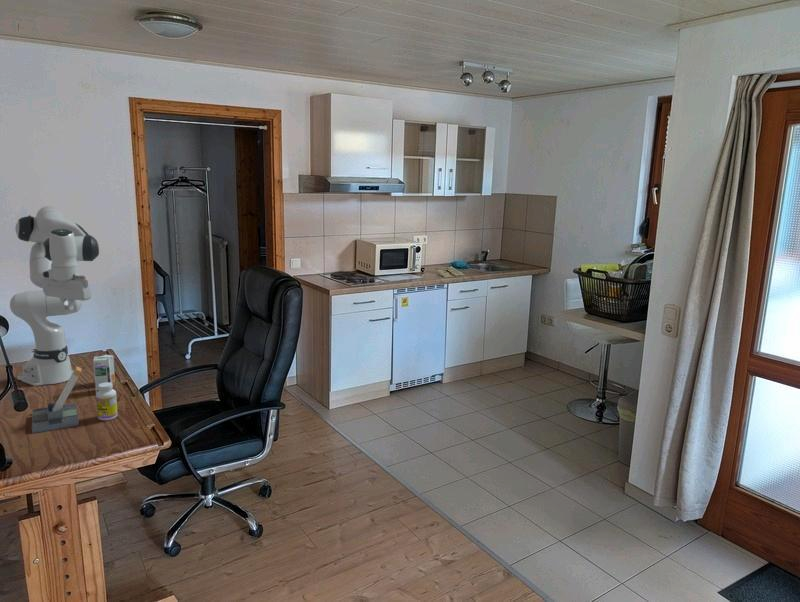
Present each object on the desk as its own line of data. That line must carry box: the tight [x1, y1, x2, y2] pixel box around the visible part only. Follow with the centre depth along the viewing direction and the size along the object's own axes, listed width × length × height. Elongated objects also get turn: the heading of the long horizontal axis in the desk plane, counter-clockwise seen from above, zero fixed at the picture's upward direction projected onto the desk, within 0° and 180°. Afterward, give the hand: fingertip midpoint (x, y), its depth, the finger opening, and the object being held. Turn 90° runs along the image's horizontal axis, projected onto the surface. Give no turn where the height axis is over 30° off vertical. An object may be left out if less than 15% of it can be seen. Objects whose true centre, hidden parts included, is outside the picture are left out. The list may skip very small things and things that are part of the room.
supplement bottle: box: [95, 382, 118, 421], centre depth 210 cm, size 7×7×13 cm
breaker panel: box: [31, 401, 80, 434], centre depth 206 cm, size 14×16×5 cm
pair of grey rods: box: [32, 403, 77, 412], centre depth 216 cm, size 14×3×2 cm, turn 121°
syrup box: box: [92, 355, 111, 394], centre depth 235 cm, size 6×6×14 cm
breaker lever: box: [52, 365, 83, 412], centre depth 207 cm, size 2×7×18 cm, turn 31°
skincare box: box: [102, 354, 116, 384], centre depth 243 cm, size 6×4×12 cm
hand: (68, 309), depth 217 cm, fingers closed
